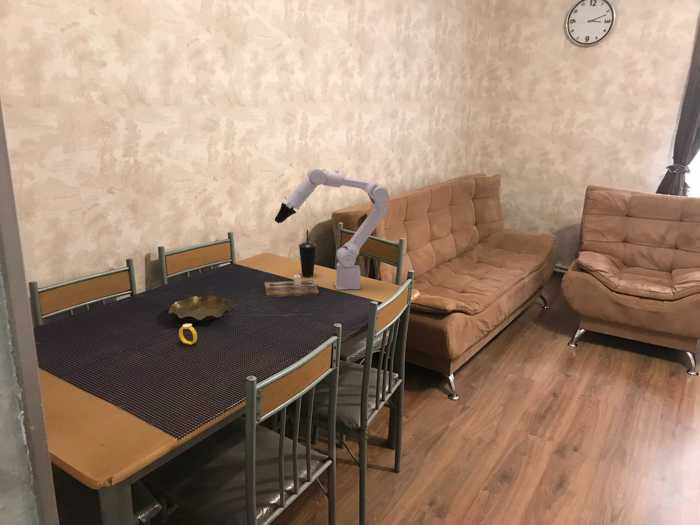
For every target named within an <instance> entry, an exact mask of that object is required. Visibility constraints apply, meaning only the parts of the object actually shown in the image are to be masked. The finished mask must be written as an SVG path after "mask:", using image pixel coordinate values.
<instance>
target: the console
mask: <svg viewBox="0 0 700 525" xmlns="http://www.w3.org/2000/svg"><path fill="white" fill-rule="evenodd" d="M293 284H294V280H289V281H288V280H287V281H284V280H283V281H271V282H270V281H267V282H266V281H265V282H264V289H265V295H266V298H278V297H279V298H281V297H297V296H298V297H300V296H303V297H304V296H317V295H318V294H319V295H320V291H319V290H318V287H317V284H316V282H315V280H313V279H310V280H306V279H305V280H301V285H293ZM319 295H318V296H319Z"/></svg>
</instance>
